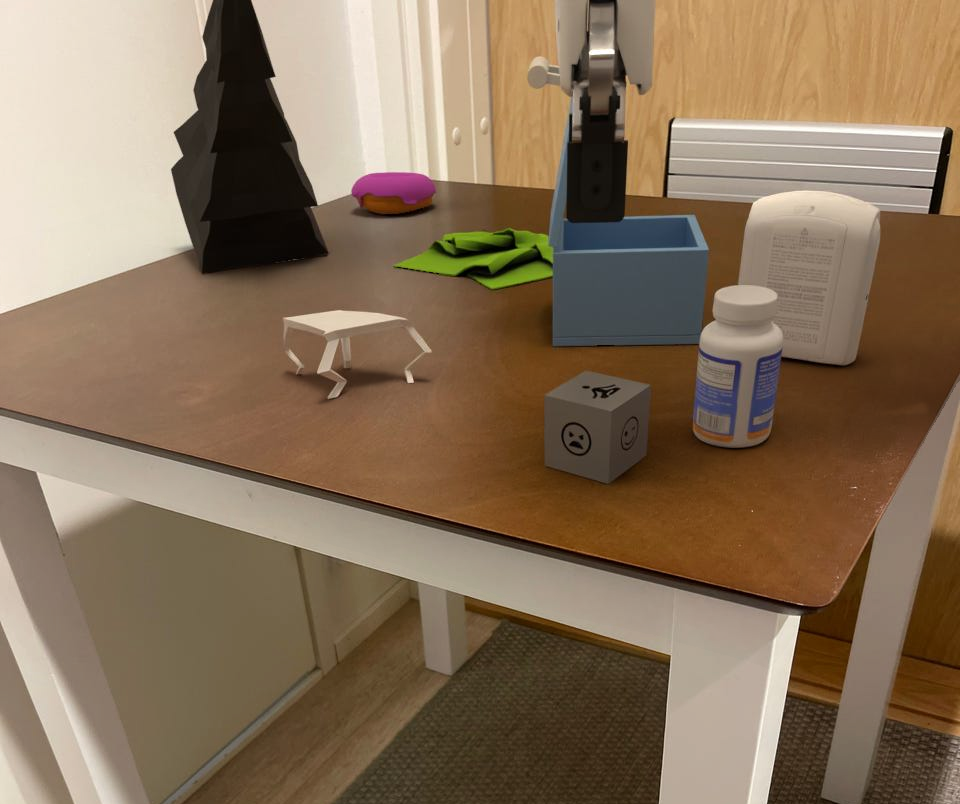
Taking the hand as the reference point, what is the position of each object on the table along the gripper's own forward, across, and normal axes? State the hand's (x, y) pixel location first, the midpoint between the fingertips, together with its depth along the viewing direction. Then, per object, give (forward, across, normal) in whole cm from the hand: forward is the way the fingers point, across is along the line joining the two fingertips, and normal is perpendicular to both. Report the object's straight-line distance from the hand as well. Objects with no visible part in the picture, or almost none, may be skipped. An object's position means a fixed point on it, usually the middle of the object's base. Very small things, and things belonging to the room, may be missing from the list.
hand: (594, 201), depth 58 cm
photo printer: (+16, +18, -17) cm, 30 cm away
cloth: (+16, +48, +10) cm, 52 cm away
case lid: (+1, +26, +1) cm, 26 cm away
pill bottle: (+16, +2, -10) cm, 19 cm away
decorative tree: (+16, +48, +36) cm, 62 cm away
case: (+16, +26, -3) cm, 31 cm away
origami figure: (+16, +13, +18) cm, 28 cm away
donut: (+16, +73, +25) cm, 79 cm away
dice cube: (+16, -2, -1) cm, 16 cm away
